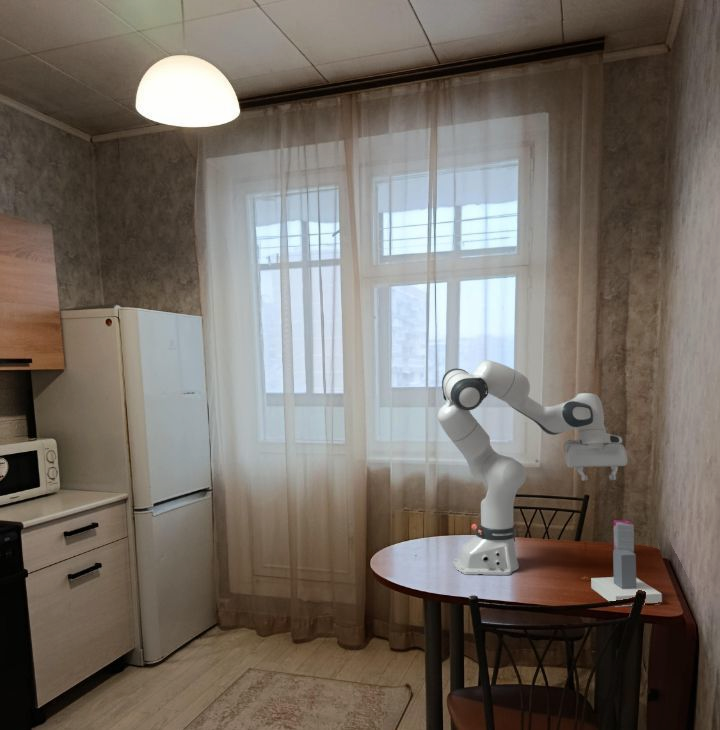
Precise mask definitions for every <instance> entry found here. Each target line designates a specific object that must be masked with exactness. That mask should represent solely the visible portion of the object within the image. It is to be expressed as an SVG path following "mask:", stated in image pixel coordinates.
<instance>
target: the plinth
mask: <svg viewBox="0 0 720 730" xmlns="http://www.w3.org/2000/svg"><path fill="white" fill-rule="evenodd" d="M590 580H591V581H590V585H591V586H590V588H591V589H592V590H593V591H594V592H596V593H597V594H599V595H600V596H601V597H603V598H604V599H605V600H607V601H608V602H609V601H616V600H623V599H629V598H632V597H635V595H636V592H637V591H638V590H642V591H645V592H646V599H645V603H658V602H662V603H663V593H661V591H658V590H657V589H655V588H653V587H652V586H650V585H648V584H647V583H645V582H644V581H642V580H641V579H639V578H638V577H636V588H632V589H621V588H620V587H618V586H617V585H616V584H614V576H610V577H609V576H607V577H591V578H590ZM645 603H644V605H643V606H646V605H645ZM615 607H616V608H619V607H633V606H632V604H631V605H622V606H615Z"/></svg>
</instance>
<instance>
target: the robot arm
mask: <svg viewBox="0 0 720 730" xmlns="http://www.w3.org/2000/svg"><path fill="white" fill-rule="evenodd" d="M530 387H531V384H530V381H529V379H528V377H527V376H525V375H524V374H523V373H522V372H519V371H518V370H515V369H514V368H511V367H510V366H507V365H505V364H503V363H500V362H497V361H494V360H483V361H482V362H480V363H479V365H477V367H476V369H475V370H474V371H473V372H471V373H469V372H468V371H466V370H465V369H463V368H452V369H450V370H449V369H448V371H446V372H445V374H444V375H443V377H442V381H441V388H442V395H443V399H444V400H445V404H444V405H442V406H441V407H440V409H439V410H438V413H437V420H438V422H439V424H440V426H441V428H442V429H443V431H444V433H445V434H446V436H447V437H448V438H449V439H450V440H451V441H452V443H453V445H454V446H455V447H456V448H457V450H458V451H460V453H461V454H462V455H463V456H464V459H465V461H466V462H467V464H468V470H469V473H470V474H471V475H472V476H473V477H474V478H475V479H476V480H478V481H479V482H482V483H485V484H487V486H488V487H487V492H486V496H485V497H484V498H482V500H481V501H480V524H479V525H477V524H476V523H473V524H472V525H471V529H472V530H473V531H474V532H475V535H474V536H473V537H471V538H470V539H469V540H467V541H466V542H465V543H463V544H462V546H461V548H460V550H459V557H456V558H454V559H453V563H452V564H454V565H453V567H454V566H455V567H456V568H455V567H454V568H455V569H456V570H457V571H458V570H459V571H458V572H459V573H461V572H462V573H461V574H464V575H478V574H483V575H484V576H485V575H488V576H491V575H494V576H510V575H511V574H512V573H513V572H515V571H517V570H519V568H520V563H519V561H518V558H517V552H516V546H515V542H516V530H515V527H516V526H515V525H514V505H515V498H516V495H517V492H518V490H519V489H520V488H521V487H522V486H523V485H524V483H525V482H526V477H527V472H526V471H527V470H526V468H525V466H524V465H523V464H522V463H521V462H519V461H518V460H516V459H514V457H511V456H506V455H502V454H499V453H498V452H496V451H495V450H494V448H493V447H492V445H491V443H490V442H491V438H490V435H489V434H488V433H487V432H486V431H485V429H484V428H483V427H482V425H481V424H480V422H478V420H477V419H476V418H475V416H474V415H473V414H472V412H471V411H473V410H474V409H477V408H478V407H479V406H480V405H481V404H482V403H483V400H485V399H486V398H487V396H489V395H491V396H493V397H495V398H497V399H499V400H501V401H503V402H505V403H506V404H507V405H509V407H511V408H512V409H514V410H515V411H516V412H518V413H520V414H521V415H523V416H525V417H526V418H528V419H530V420H532V421H533V422H534V423H536V424H537V425H538V426H539V427H540V429H541V430H542V431H543V432H544V433H546V434H549V435H552V436H554V435H555V436H557V435H559V434H562V433H565V432H569V431H572V430H576V429H578V436H579V439H575V440H574V439H573V440H571V439H570V440H567V441H565V442H564V444H563V448H564V450H563V451H564V452H565V454H564V456H565V465H566V467H568V468H576V471H577V472H578V474H579V475H580V476H581V481H582V482H583V481H584V482H585V481H589V478H588V474H585V473H584V468H593V467H594V468H599V467H600V468H602V467H610V469H611V473H610V474H609V475H608V479H609V481H616V480H617V479H616V474H617V472H618V470H619V467H624V466H628V462H629V460H628V459H629V458H628V455H627V451H626V450H627V449H626V448H625V446H624V445H623V444H622V443H623V438H622V437H621V436H619V435H615V434H612V433H608V432H607V429H606V426H605V423H604V421H605V414H604V413H605V412H604V408H603V404H602V403H603V402H602V400H601V399H600V397H599V395H597V394H595V393H591V392H581V393H580V392H579V393H577V394H576V396H574V398H572V399H569V400H567V401H564V402H562V403H560V404H556V405H553V406H544V405H542V404H541V403H538V402H537V401H535V400H534V399H532V398H530V397H529V394H530V391H531V388H530Z"/></svg>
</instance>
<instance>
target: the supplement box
mask: <svg viewBox="0 0 720 730" xmlns="http://www.w3.org/2000/svg"><path fill="white" fill-rule="evenodd" d="M634 530H635V525H634V524H633V523H632V522H631V521H630V520H615V519H614V520H613V550H628V551H630V552H632V553H634V554H635V531H634Z"/></svg>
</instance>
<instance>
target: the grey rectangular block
mask: <svg viewBox="0 0 720 730" xmlns="http://www.w3.org/2000/svg"><path fill="white" fill-rule="evenodd" d="M612 556H613V559H612V561H613V564H612V565H613V569H612V570H613V577H614V584H616V585H617V586H618V587H620V588H621V589H632V588H636V578H637V555H636V553H635V552H634V553H632V552H630V551H628V550H614V549H613V550H612Z"/></svg>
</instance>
